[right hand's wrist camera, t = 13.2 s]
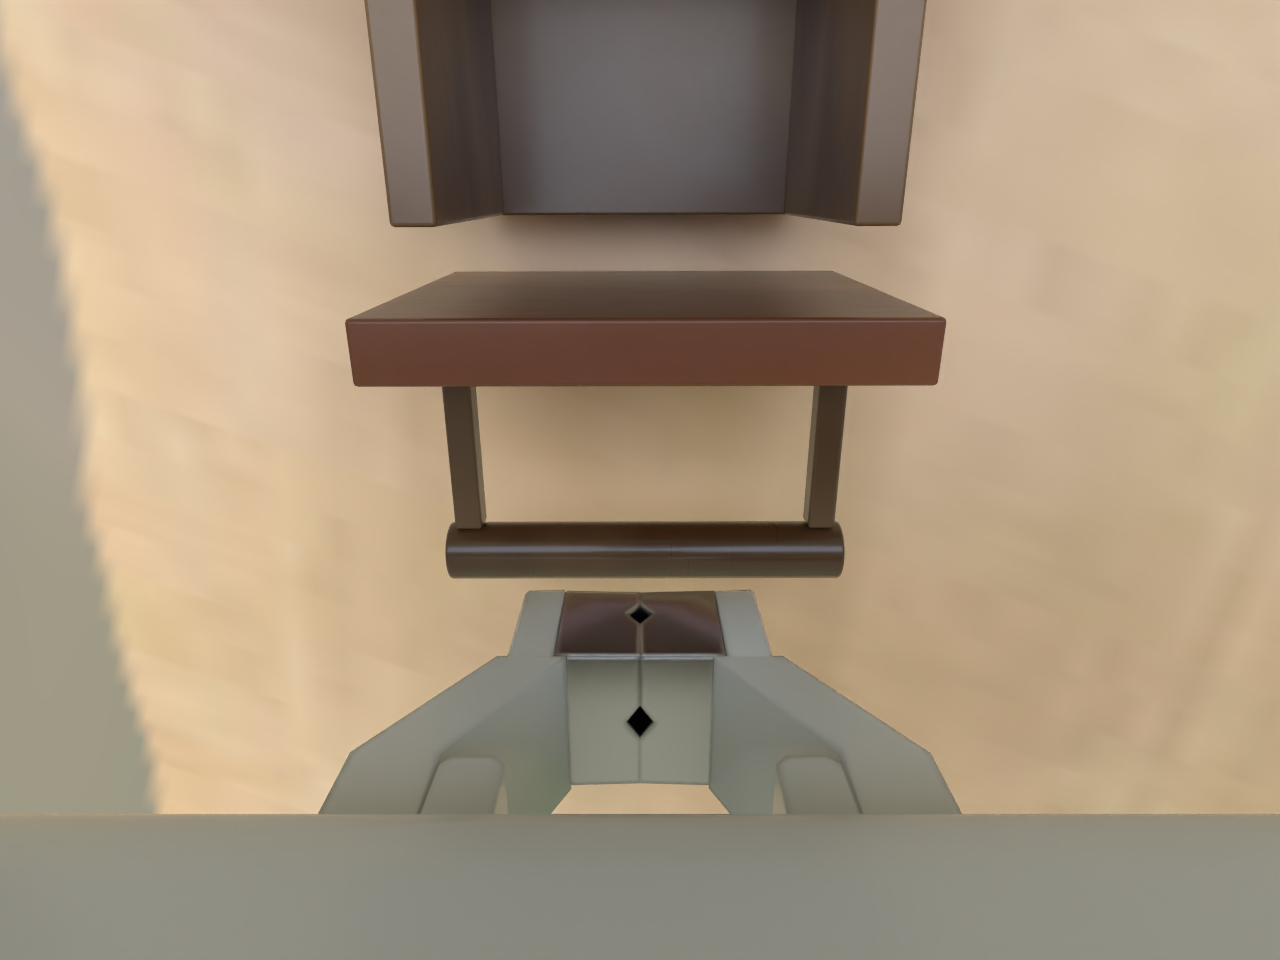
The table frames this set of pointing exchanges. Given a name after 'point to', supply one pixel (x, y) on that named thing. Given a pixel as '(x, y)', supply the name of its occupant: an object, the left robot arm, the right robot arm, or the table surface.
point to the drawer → (645, 185)
